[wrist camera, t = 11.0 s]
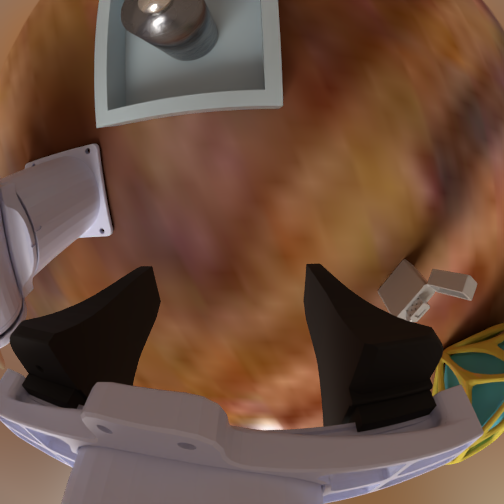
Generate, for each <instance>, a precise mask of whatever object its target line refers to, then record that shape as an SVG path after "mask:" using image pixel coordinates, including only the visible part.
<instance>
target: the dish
mask: <svg viewBox="0 0 504 504" xmlns="http://www.w3.org/2000/svg"><path fill="white" fill-rule="evenodd" d="M124 1H125V0H99V5H98V14H97V24H96V36H95V58H94V91H95V113H96V127H97V128H102V127H110V126H119V125H124V124H129V123H134V122H139V121H145V120H150V119H156V118H163V117H169V116H176V115H184V114H193V113H202V112H213V111H226V110H245V109H279V108H281V107H282V106H283V87H282V62H281V42H280V25H279V9H278V0H205V2H206V4H207V7H208V9H209V11H210V13H211V15H212V17H213V19H214V21H215V23H216V25H217V28H218V33H219V35H218V40H217V43H216V45H215V46H214V48H213V49H212V50H211V51H210V52H209V53H208V54H206V55H205V56H203V57H201V58H199V59H196V60H192V61H180V60H176V59H174V58H172V57H171V56H169V55H168V54H166V53H164V52H163V51H161V50H159V49H158V48H156V47H155V46H153V45H151V44H149V43H148V42H146V41H144V40H143V39H141V38H139V37H137V36H136V35H134V34H132V33H130V32H129V31H127V30H126V29H125V27H124V26H123V24H122V22H121V8H122V5H123V3H124Z"/></svg>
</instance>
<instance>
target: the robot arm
mask: <svg viewBox="0 0 504 504" xmlns="http://www.w3.org/2000/svg"><path fill="white" fill-rule="evenodd" d="M88 148H89V149H90V153H88ZM102 229H104V232H103V231H102ZM112 233H113V227H112V222H111V218H110V213H109V207H108V202H107V197H106V191H105V185H104V179H103V172H102V165H101V157H100V149H99V146H98V144H90V145H86V146H82V147H78V148H74V149H71V150H67V151H64V152H60V153H57V154H54V155H50V156H47V157H44V158H41V159H38V160H35V161H32V162H29V163H27V164H26V165H25V169H24V170H22V171H19V172H16V173H14V174H11V175H9V176H7V177H4V178H2V179H0V348H2V347H3V346H5V345H7V344H8V343H9V342H10V344H11V347H12V349H13V351H14V353H15V354H16V356H17V357H18V359H19V360H20V362H21V363H22V365H23V366H24V368H25V369H26V370H27V372H28V373H29V374H28V376H27V377H26V378H25V377H24V376H23V375H21V374H20V373H17V372H15V371H13V370H11V369H7V371H6V372H5V374H4V375H3V377H2V378H1V380H0V420H1V422H2V423H4V424H5V425H6V426H7V427H8V428H9V429H10V430H11V431H12V432H13V433H14V434H15V435H16V436H18V437H19V438H21V439H23V440H24V441H26V442H28V443H29V444H31V445H32V446H34V447H36V448H38V449H39V450H41V451H43V452H45V453H46V454H48V455H50V456H52V457H53V458H55V459H57V460H59V461H61V462H63V463H64V464H66V465H69V466H70V467H72V471H71V474H70V477H69V480H68V483H67V486H66V489H65V492H64V496H63V499H62V503H61V504H325V503H330V502H335V501H340V500H344V499H348V498H352V497H356V496H360V495H364V494H367V493H370V492H374V491H377V490H380V489H384V488H387V487H390V486H392V485H395V484H398V483H401V482H404V481H406V480H409V479H411V478H414V477H416V476H419V475H421V474H424V473H426V472H429V471H431V470H433V469H436V468H438V467H440V466H442V465H445V464H447V463H449V462H451V461H452V460H453V459H455V458H456V457H457V456H458V455H460V454H461V453H462V452H463V451H465V450H466V449H467V448H468V447H469V446H471V445H472V444H473V443H474V442H475V441H476V440H477V439H479V438H480V437H481V436H482V435H483V433H484V431H483V429H482V427H481V424H480V422H479V420H478V418H477V415H476V413H475V411H474V409H473V407H472V405H471V403H470V401H469V399H468V397H467V395H466V393H465V391H464V389H463V387H462V385H457V386H454V387H452V388H449V389H446V390H443V391H440V392H438V393H437V394H435V395H434V396H432V394H431V391H430V389H432V387H433V384H432V382H431V380H430V377H431V375H432V374H433V372H434V370H435V369H436V367H437V365H438V364H439V362H440V359H441V357H442V355H443V346H442V343H441V341H440V340H439V338H438V336H437V335H436V333H435V332H434V330H433V329H432V327H428V326H425V325H421V324H417V323H413V322H410V321H407V320H405V319H402V318H399V317H397V316H394V315H392V314H389V313H387V312H385V311H383V310H381V309H379V308H377V307H375V306H374V305H372V304H370V303H369V302H367V301H365V300H364V299H362V298H361V297H359V296H358V295H356V294H355V293H354V292H352V291H351V290H350V289H348V288H347V287H346V286H345V285H343V284H342V283H341V282H340V281H339V280H337V279H336V278H335V277H334V276H333V275H332V274H331V273H330V272H329V271H327V270H326V269H325V268H324V267H323V266H322V265H321V264H307V265H306V279H305V291H304V307H305V315H306V320H307V324H308V328H309V332H310V335H311V339H312V343H313V346H314V350H315V354H316V358H317V363H318V370H319V378H320V387H321V397H322V409H323V425H324V427H316V428H305V429H291V430H255V429H249V428H242V427H236V426H231V425H229V422H228V417H227V414H226V413H225V412H224V410H223V409H222V408H221V407H220V405H218V404H217V403H215V402H213V401H211V400H209V399H207V398H205V397H203V396H199V395H194V394H189V393H185V392H175V391H166V390H158V389H150V388H143V387H137V386H133V381H134V376H135V372H136V369H137V365H138V361H139V358H140V355H141V352H142V350H143V348H144V345H145V343H146V341H147V338H148V336H149V334H150V331H151V329H152V327H153V324H154V322H155V320H156V317H157V313H158V310H159V306H160V302H161V301H160V297H159V293H158V289H157V285H156V281H155V276H154V272H153V268H152V266H141V267H139V268H137V269H135V270H133V271H132V272H130V273H129V274H127V275H125V276H124V277H122V278H121V279H119V280H118V281H116V282H115V283H113V284H112V285H110V286H109V287H107V288H105V289H104V290H102V291H100V292H99V293H97V294H96V295H94V296H92V297H90V298H88V299H86V300H84V301H82V302H80V303H78V304H76V305H74V306H71V307H69V308H66V309H64V310H62V311H59V312H56V313H53V314H49V315H46V316H42V317H38V318H33V319H29V320H25V319H26V315H27V307H26V302H25V300H24V298H25V297H26V296H27V295H28V294H29V293H30V292H31V291H32V290H33V284H32V279H33V277H34V276H35V275H36V274H37V273H38V272H39V271H40V270H41V269H42V268H43V267H45V266H46V265H47V264H48V263H49V262H50V261H51V260H52V259H54V258H55V257H56V256H57V255H58V254H59V253H60V252H62V251H63V250H64V249H65V248H66V247H67V246H69V245H70V244H71V243H72V242H73V241H75V240H76V239H77V238H82V237H99V236H110V235H111V234H112Z"/></svg>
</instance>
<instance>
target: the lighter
mask: <svg viewBox="0 0 504 504" xmlns="http://www.w3.org/2000/svg"><path fill="white" fill-rule="evenodd" d="M476 286H477V283H476V282H475V281H474V279H473V278H472V277H471V276H469V275H466V274H460V273H454V272H448V271H442V270H436V269H432V272H431V275H430V277H429V280H428V282H427V281H426V279H425V278H424V277H423V276H422V275H421V274H420V272H419V271H418V270H417V269H416V268H415V267H414V265H412V264H411V263H410V262H408V261H407V260H406V259H404V260H402V262H401V263H400V264H399V265H398V267H397V268H396V269H395V270H394V272H393V273H392V274H391V275H390V277H389V278H388V279H387V280H386V281H385V283H384V284H383V285H382V286H381V287H380V289H379V290H378V293H379V295H380V297H381V299H382V300H383V302H384V304H385V305H386V307H387V309H388V311H389V313H390V314H392V315H394V316H397V317H399V318H402V319H405V320H407V321H410V322H417V321H418V320H419V319H420V318H421V317H422V316H423V315H424V314H425V313H426V311H427V310H428V309H429V308H430V306H429V304H428V303H427V301H428V300H429V299H430V298H431V297H432V296H433V294H434V293H435V291H436V292H439V293H443V294H447V295H451V296H455V297H458V298H462V299H466V300H470V301H471V300H472V298H473V295H474V292H475V289H476Z"/></svg>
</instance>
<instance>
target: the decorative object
mask: <svg viewBox="0 0 504 504" xmlns="http://www.w3.org/2000/svg"><path fill="white" fill-rule="evenodd" d="M502 331H504V323H501V324H498V325H495V326H492V327H490V328H488V329H486V330H484V331H481V332H479V333H477V334H475V335H472V336H470V337H468V338H466V339H464V340H462V341H460V342H458V343H455V344H453V345H451V346H449V347H447V348H446V349H445V350H444V351H443V355H442V357H441V359H440V362H439V364H438V365H437V367H436V372H435V378H434V384H433V391H432V396H434V395H435V394H437V393H438V392H440V391H443V390H446V389H449V388H452V387H454V386H457V385H462V387H463V389H464V391H465V393H466V395H467V397H468V399H469V401H470V403H471V405H472V407H473V409H474V411H475V413H476V415H477V418H478V420H479V422H480V424H481V427H482V429H483V431H484V433H483V435H482V436H481V437H480V438H479V439H477V440H476V441H475V442H474V443H473V444H472V445H471V446H469V447H468V448H467V449H466V450H465V451H463V452H462V453H461V454H460V455H458V456H457V457H456V458H455V459H453V460H452V461H451V462H449V463H447V464H455V463H459V462H461V461H463V460H465V459H467V458H469V457H470V456H472V455H474V454H476V453H477V452H479V451H480V450H482V449H484V448H485V447H486V446H488V445H489V444H491V443H492V442H494V441H495V440H496V439H497V438H498V437H499V436H500V435H501V434H502V433H503V432H504V333H503V334H501V335H498V336H496V337H493V336H495V335H497V334H499V333H500V332H502ZM491 337H493V338H491ZM489 338H491V339H489ZM487 339H488V340H487ZM455 353H456V354H455ZM451 354H454V355H451ZM444 363H446V365H445V374H444Z"/></svg>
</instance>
